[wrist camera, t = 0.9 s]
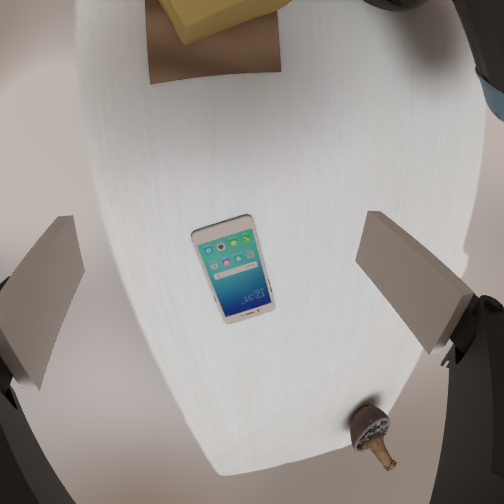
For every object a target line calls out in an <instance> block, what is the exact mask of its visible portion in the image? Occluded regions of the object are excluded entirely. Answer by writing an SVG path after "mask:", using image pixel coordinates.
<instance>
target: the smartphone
mask: <svg viewBox="0 0 504 504" xmlns="http://www.w3.org/2000/svg"><path fill="white" fill-rule="evenodd" d="M191 237H192V241H193V244H194V246H195V249H196V252H197V254H198V257H199V259H200V262H201V264H202V267H203V270H204V272H205V275H206V277H207V280H208V282H209V285H210V287H211V290H212V292H213V294H214V298H215V300H216V302H217V304H218V307H219V309H220V311H221V314H222V316H223V319H224V321H225V323H226V324H233V323H236V322H239V321H242V320H245V319H249V318H252V317H255V316H258V315H261V314H264V313H267V312H270V311H272V310H274V309H275V304H274V300H273V296H272V290H271V287H270V283H269V279H268V277H267V273H266V269H265V265H264V261H263V257H262V253H261V250H260V246H259V242H258V238H257V234H256V230H255V226H254V223H253V219H252V217H251V216H250V215H242V216H239V217H236V218H232V219H229V220H226V221H223V222H220V223H217V224H213V225H210V226H207V227H204V228H201V229H198V230H195V231H193V232H192V234H191Z"/></svg>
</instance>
